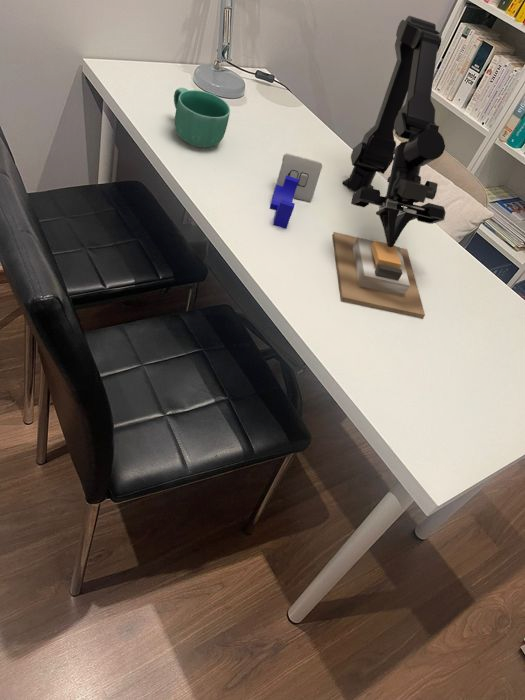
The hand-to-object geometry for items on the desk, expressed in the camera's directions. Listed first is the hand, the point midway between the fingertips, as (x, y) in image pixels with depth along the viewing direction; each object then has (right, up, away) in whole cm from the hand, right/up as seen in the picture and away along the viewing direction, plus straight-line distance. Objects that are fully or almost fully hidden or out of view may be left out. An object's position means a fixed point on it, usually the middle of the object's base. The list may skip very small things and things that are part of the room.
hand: (390, 246), depth 119 cm
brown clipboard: (-2, -5, +5) cm, 8 cm away
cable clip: (-23, +10, +12) cm, 28 cm away
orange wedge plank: (-1, -2, +2) cm, 3 cm away
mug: (-44, +32, +24) cm, 59 cm away
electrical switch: (-20, +16, +19) cm, 32 cm away
